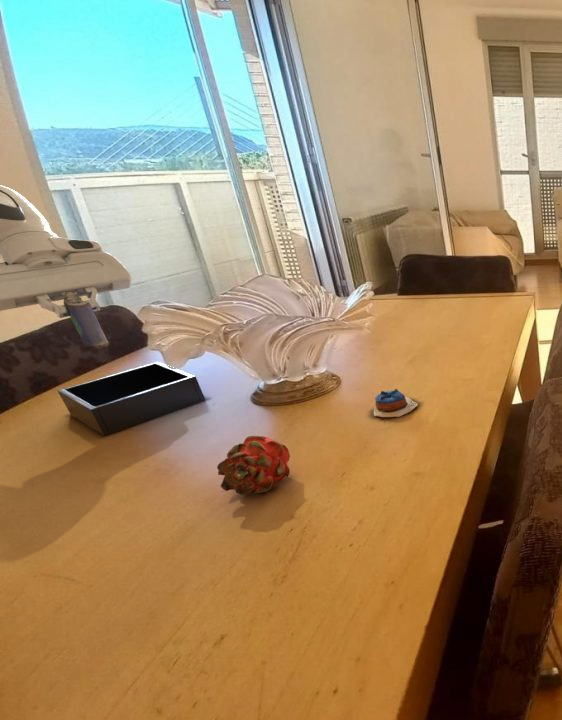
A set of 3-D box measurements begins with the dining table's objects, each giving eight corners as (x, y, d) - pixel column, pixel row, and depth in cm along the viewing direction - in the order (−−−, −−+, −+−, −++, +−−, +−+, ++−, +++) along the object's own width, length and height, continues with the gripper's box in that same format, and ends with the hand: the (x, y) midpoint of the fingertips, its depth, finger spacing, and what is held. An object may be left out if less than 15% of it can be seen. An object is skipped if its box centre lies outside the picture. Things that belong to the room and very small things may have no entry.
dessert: (361, 413, 90) (370, 383, 91) (384, 417, 96) (393, 388, 97) (396, 421, 88) (405, 390, 89) (418, 424, 94) (426, 395, 95)
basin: (104, 436, 86) (90, 409, 84) (70, 415, 94) (57, 390, 92) (205, 399, 99) (195, 376, 97) (168, 383, 107) (158, 361, 105)
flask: (111, 345, 94) (86, 293, 89) (91, 350, 92) (63, 297, 87) (99, 337, 98) (74, 287, 94) (79, 341, 96) (52, 290, 92)
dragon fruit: (263, 518, 67) (262, 487, 76) (308, 467, 70) (301, 444, 79) (200, 490, 62) (206, 461, 72) (251, 437, 65) (250, 416, 74)
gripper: (-50, 257, 83) (-5, 318, 82) (107, 239, 99) (146, 290, 98) (-42, 280, 86) (2, 338, 86) (109, 259, 103) (146, 308, 102)
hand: (80, 312), depth 92 cm, fingers closed on flask, 3 cm apart
